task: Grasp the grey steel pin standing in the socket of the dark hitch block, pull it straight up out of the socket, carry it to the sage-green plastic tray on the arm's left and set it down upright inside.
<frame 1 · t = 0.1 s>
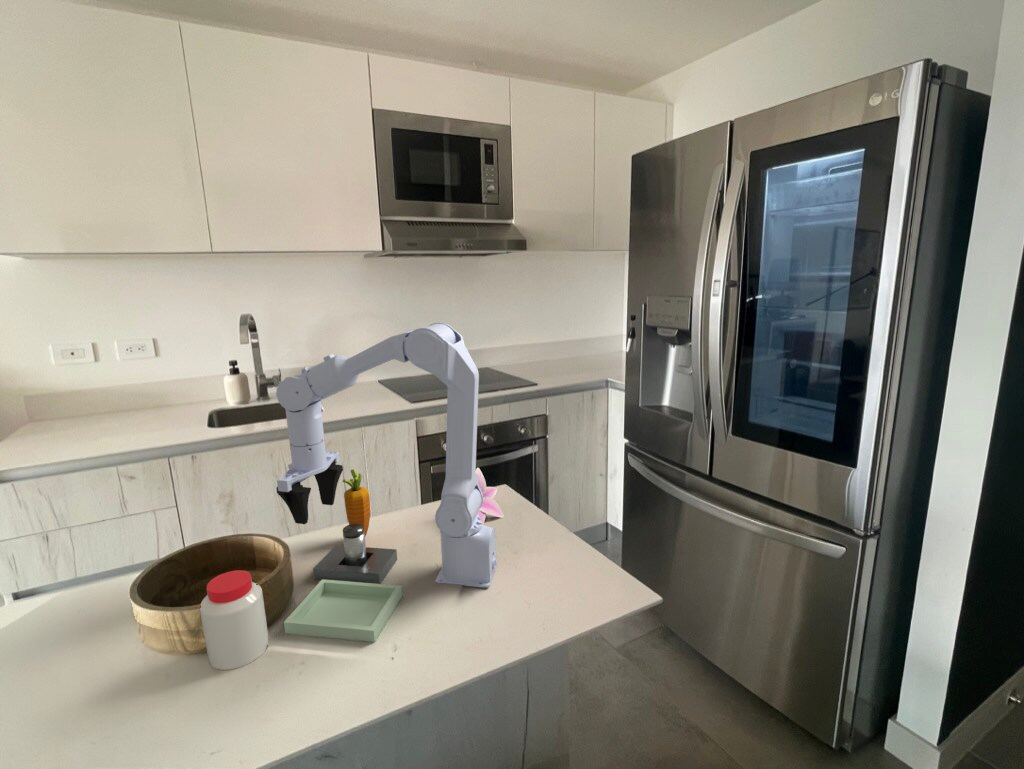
hand: (315, 513, 95), 10 cm above the countertop, tool pointing down, fingers open, 7 cm apart
hitch block: (357, 571, 94), on the countertop
tray: (347, 616, 82), on the countertop
pill bottle: (239, 651, 75), on the countertop
lily: (478, 519, 113), on the countertop
pin: (357, 569, 94), resting on hitch block
carrot: (360, 543, 104), on the countertop
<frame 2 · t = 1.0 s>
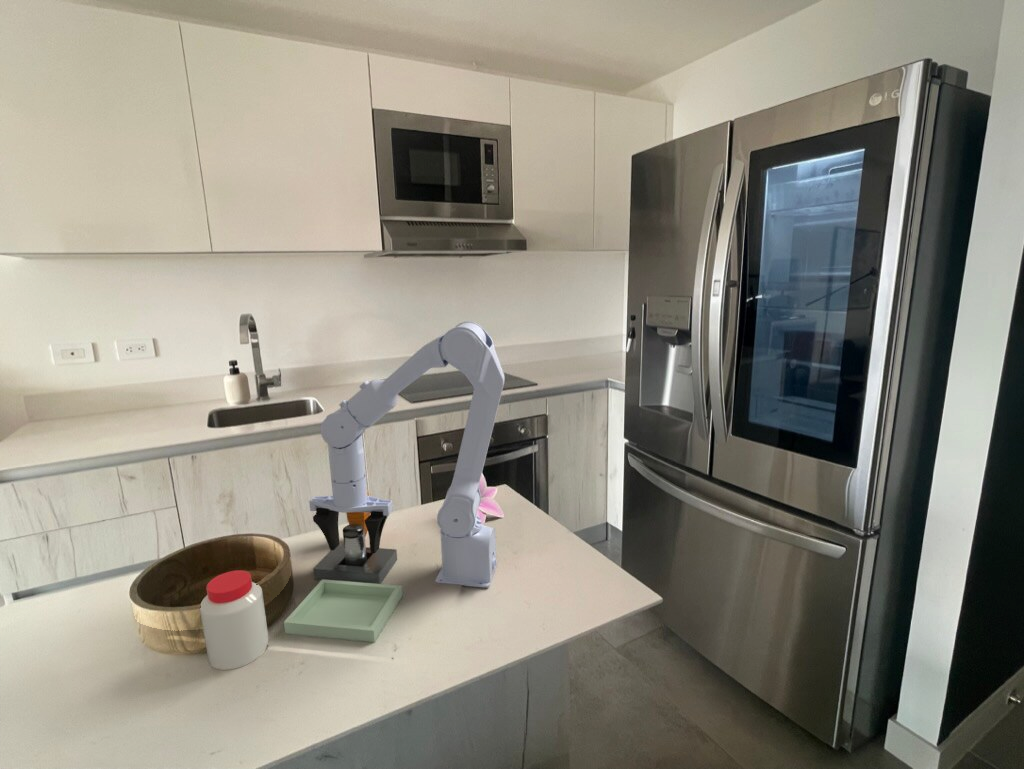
hand: (354, 548, 93), 5 cm above the countertop, tool pointing down, fingers open, 7 cm apart
nothing on the countertop moved.
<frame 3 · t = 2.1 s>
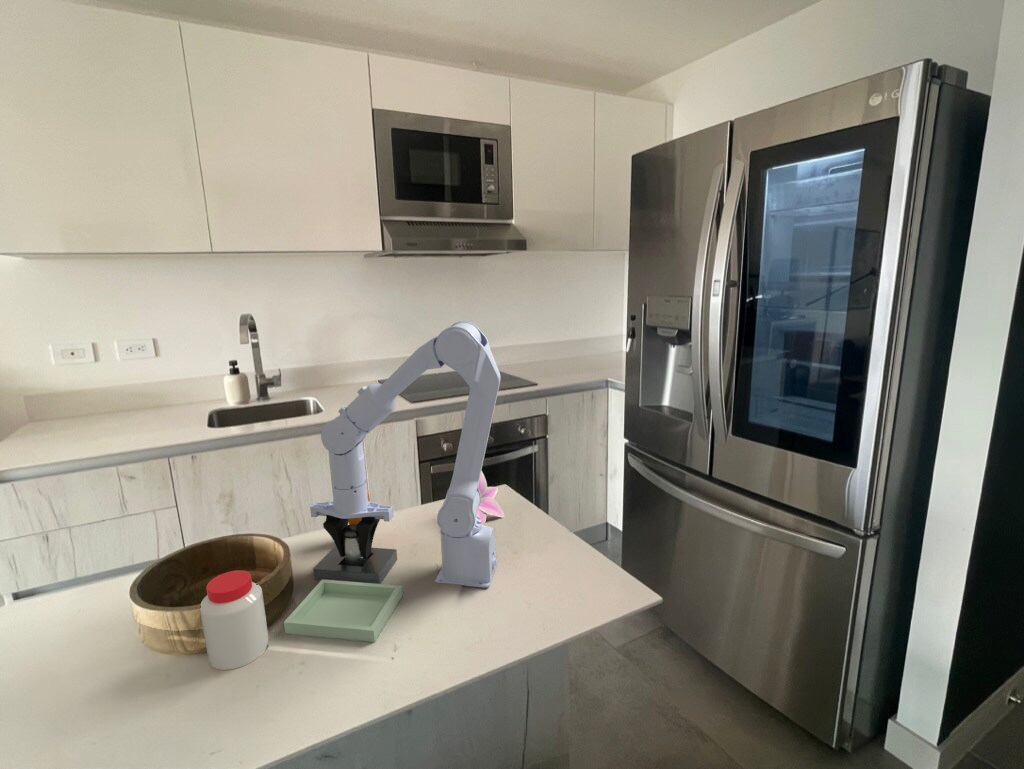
hand: (355, 554, 93), 3 cm above the countertop, tool pointing down, fingers closed on pin, 4 cm apart
pin: (357, 569, 94), resting on hitch block, touching gripper
everything else where it was.
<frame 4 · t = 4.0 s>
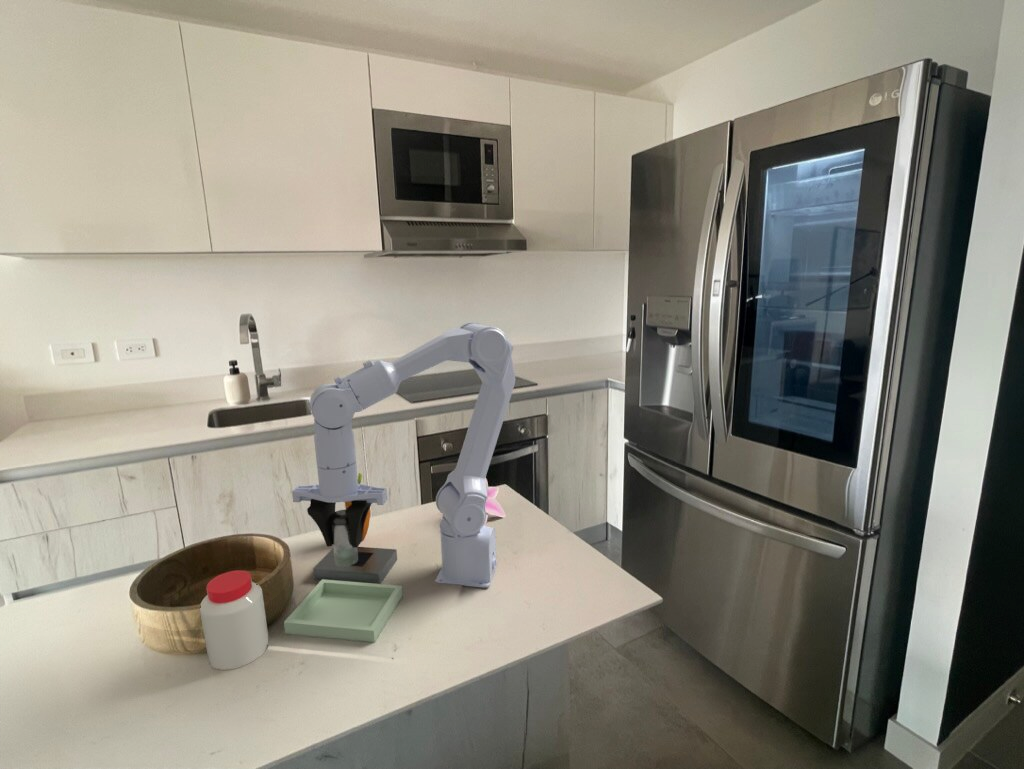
hand: (344, 543, 83), 10 cm above the countertop, tool pointing down, fingers closed on pin, 4 cm apart
pin: (346, 560, 84), point 7 cm above the countertop, touching gripper
everything else where it was.
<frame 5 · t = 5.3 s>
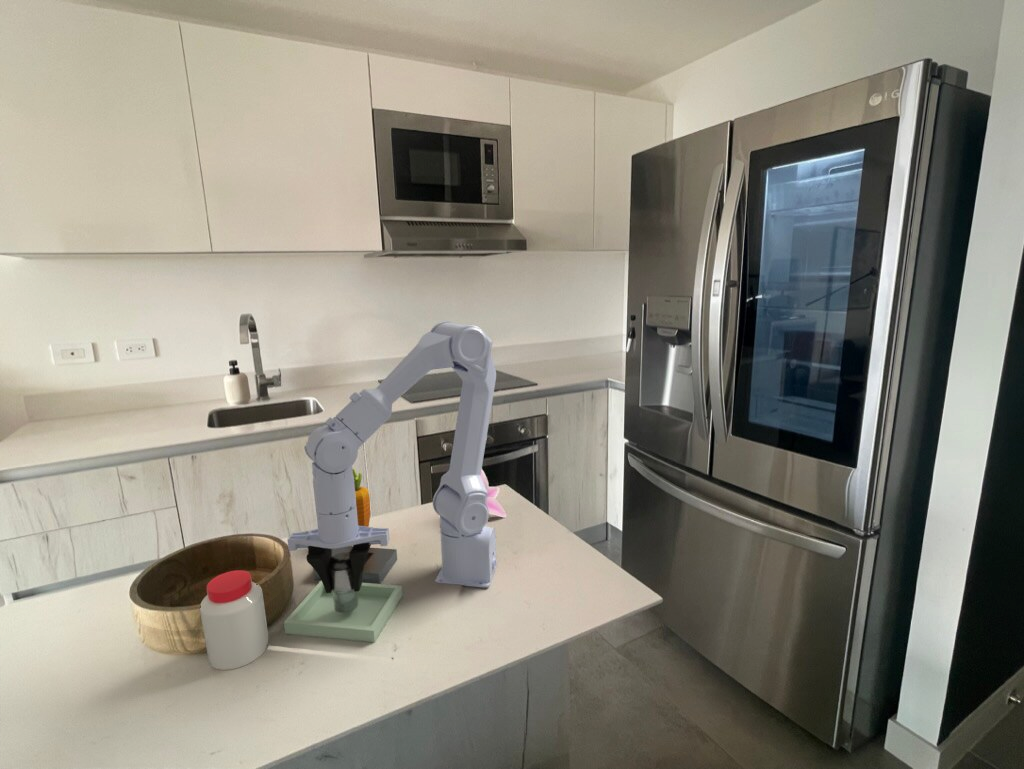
hand: (344, 588, 80), 5 cm above the countertop, tool pointing down, fingers closed on pin, 4 cm apart
pin: (346, 605, 81), point 2 cm above the countertop, touching gripper
everything else where it was.
when the fingers open (5 cm above the countertop, at t = 6.1 s): pin stays where it is, resting on tray.
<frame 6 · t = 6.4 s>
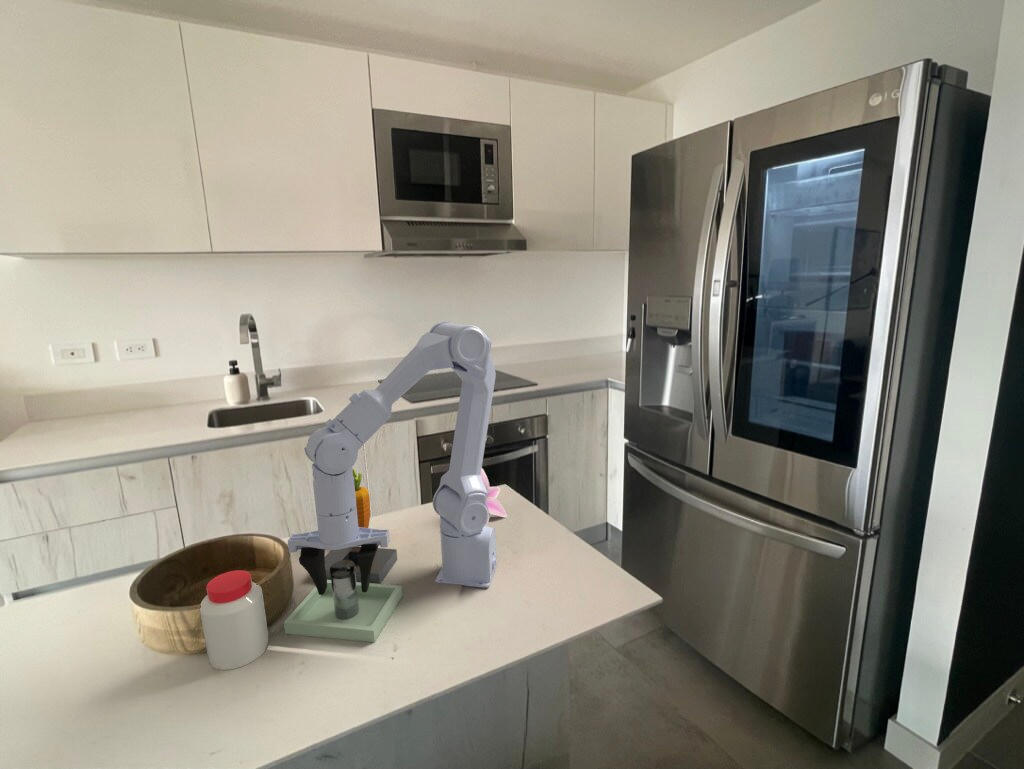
hand: (344, 589, 81), 5 cm above the countertop, tool pointing down, fingers open, 6 cm apart
pin: (347, 611, 82), point 1 cm above the countertop, touching tray
everything else where it was.
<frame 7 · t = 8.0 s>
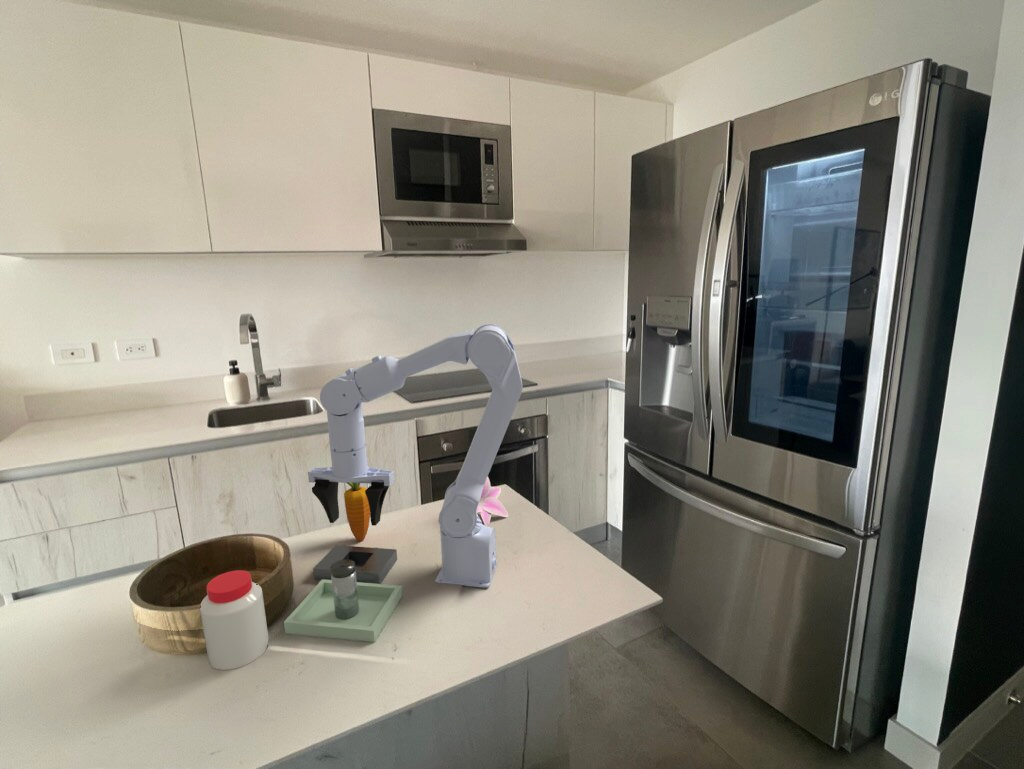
hand: (355, 521, 90), 10 cm above the countertop, tool pointing down, fingers open, 7 cm apart
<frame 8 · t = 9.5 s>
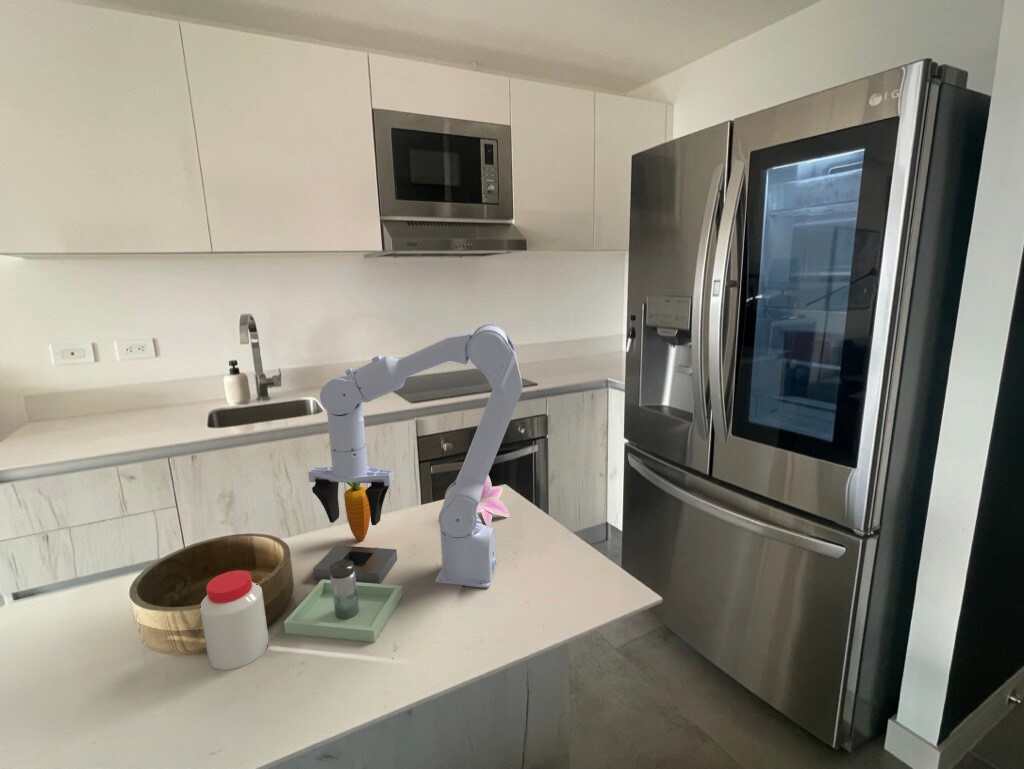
hand: (355, 521, 90), 10 cm above the countertop, tool pointing down, fingers open, 7 cm apart
at the end: pin inside the target area on the tray (0.3 cm from its centre), point 0.6 cm above the tray's base; pin tilted 1°; the gripper is holding nothing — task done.
